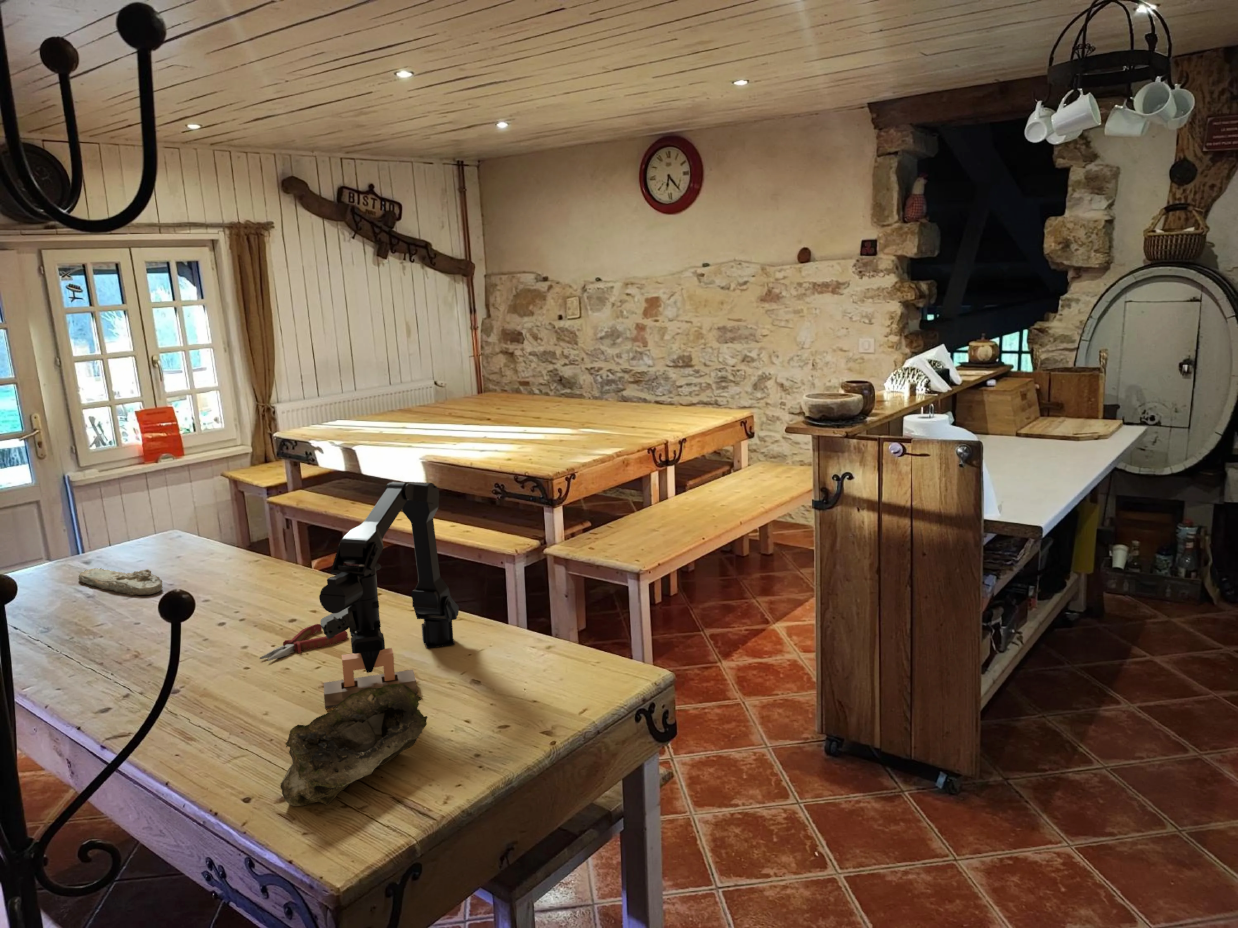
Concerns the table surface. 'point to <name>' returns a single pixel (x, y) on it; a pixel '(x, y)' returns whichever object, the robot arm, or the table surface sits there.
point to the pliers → (304, 642)
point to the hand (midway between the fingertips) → (368, 669)
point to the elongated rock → (122, 581)
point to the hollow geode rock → (350, 742)
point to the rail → (364, 686)
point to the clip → (356, 663)
